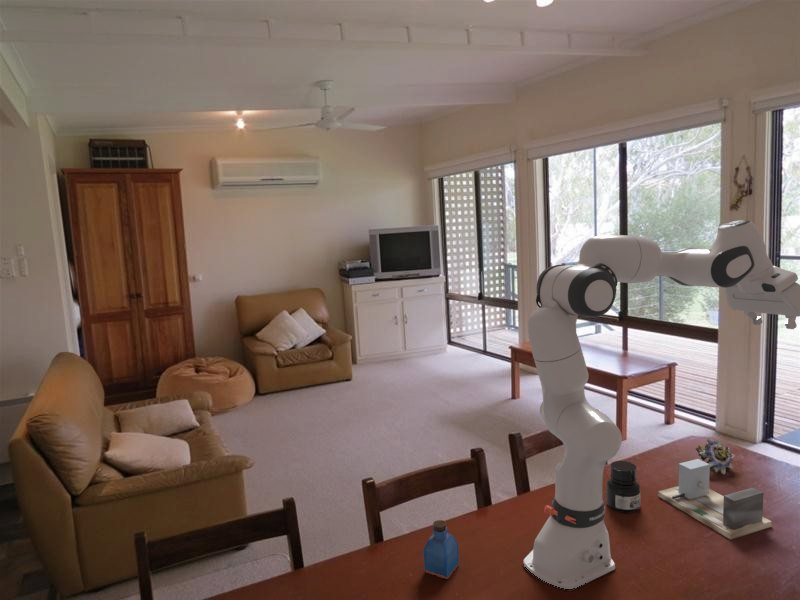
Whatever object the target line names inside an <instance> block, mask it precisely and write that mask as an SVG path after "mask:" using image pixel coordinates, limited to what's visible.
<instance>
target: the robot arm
mask: <svg viewBox="0 0 800 600" xmlns="http://www.w3.org/2000/svg"><path fill="white" fill-rule="evenodd" d="M579 251H580V252H579V256H578V257H579V258H578V261H577V263H576V264H575V265H568V264H567V265H566V264H555V265H552V266H549V267H546V268H545V269H544V270H543V271H542V272H541V273H540V274H539V276H538V279H537V282H536V298H535V303H536V305H537V307H538V308H537V309H535V310H534V311H532V312H531V313H530V315H529V316H528V319H527V332H528V334H527V335H528V339H529V346H530V350H531V354H532V357H533V360H534V364H535V367H536V371H537V375H538V378H539V381H540V386H541V391H542V393H541V394H542V402H541V403H540V406H539V416H540V419H541V420H542V423H543V424H544V426H545V427H546V428H547V430H548V431H549V433H551V434H552V435H553V436H555V437H556V438H557V439H559V440H560V442H562V444H563V447H564V454H563V458H562V460H561V461H560V462H558V463H557V464H556V466H555V468H554V484H555V485H554V488H555V492H554V493H555V494H554V496H553V500H552V503H551V506H550V505H549V504H548V505H545V506H544V511H543V512H544V514H547V515H549V516H548V519H547V520H546V521H545V523H544V525H542V527H541V530H540V531H539V533H538V534H537V536H536V537H535V540H534V542H533V549H532V550H531V551H530V552H529V553H528V554H527V555H526V556H525V558H523V560H522V561H523V562H522V564H524V565H523V567H524V568H525V567H526V568H527V569H528V570H529V571H530V572H531V573H533V574H534V575H535V576H537V577H538V578H537V577H536V578H537V579H539V578H540V579H541V580H540V579H539V580H540V581H542V580H543V581H542V582H544V581H545V582H544V583H546V582H547V583H546V584H548V583H549V584H548V585H550V584H552V585H554V586H553V587H555V586H557V587H556V588H558V587H560V588H559V589H561V588H564V589H563V590H565V589H573V588H575V589H577V587H578V588H579V586H580V587H582V586H584V585H586V584H588V583H590V582H592V581H594V580H596V579H597V578H600V577H602V576H604V575H607V574H609V573H610V572H612V571H615V569H616V564H615V562H614V560H613V559H612V556H611V545H610V543H611V542H610V535H609V534H610V533H609V531H608V528H607V527H606V524H605V521H604V519H605V512H606V506H605V501H604V499H603V491H604V490H603V488H604V487H603V485H604V484H603V483H604V482H603V481H604V470H605V468H606V464H607V462H608V461H609V460H611V459H613V458H614V457H615V456H616V455H617V454H618V452H619V451H620V449H621V446H622V444H623V442H622V441H623V437H622V436H623V435H622V432H621V430H620V429H619V427H618V426H617V425H616V423H615V422H614V421H613V420H612V419H611V418H610V417H609V416H608V415H607V414H606V413H604V412H603V411H600V410H599V409H597V408H595V407H593V406H592V405H591V404H590V403H589V401H588V399H587V397H586V395H585V393H586V392H585V385H586V384H587V382H588V380H589V377H590V375H589V372H588V368H587V363H586V360H585V356H584V353H583V350H582V345H581V343H580V339H579V337H578V334H577V320H578V316H579V317H583V318H597V317H600V316H603V315H606V314H607V313H608V312H609V311H610V310H611V308H612V307H613V305H614V303H615V300H616V296H617V286H618V283H624V284H625V283H627V284H634V283H635V284H639V283H647V282H651V281H652V280H654V279H656V277H657V276H658V277H665V278H668V279H670V280H672V281H674V283H677V284H679V285H681V286H684V287H689V286H690V287H692V286H693V287H695V286H696V287H697V286H698V287H707V288H724V293H725V298H726V301H727V304H728V307H729V308H730V309H732V311H739V312H743V313H744V315H745V316H746V317H747V318H748V319H750V320H751V323H752V325H755V326H760V325H761V324H762V323H763V320H762V317H761V316H758V314H759V313H760V314H769V315H779V316H784V317H785V319H787V321H786V322H784V326H785V328H786V329H787V330H794V329H796V328H797V323H796V321H797V320H796V319H797V317H798V318H799V317H800V284H799V283H798V282H797V281H798V279H799V277H798V274H797V273H796V272H794V271H790V270H787V269H784V268H781V267H778V266H776V265H773V262H772V260H771V258H770V257H769V256H768V254H767V246H766V244H765V241H764V239H763V237H762V234H761V233H760V230H759V229H758V226H756V225H755V223H754V222H753V221H752V220H748V219H738V220H734V221H728V222H725V223H723V224H721V225H720V226H718V227H717V236H716V238H715V239H714V241H713V244H712V245H711V246H709V247H708V248H700V247H683V248H681V249H678V250H676V251H673V252H668V251H662V249H661V247H660V246H659V244H658V243H657V242H656V241H653V240H651V239H647V238H645V237H641V236H635V235H626V234H625V235H623V234H607V235H597V236H593V237H590V238H588V239H587V240H586V241H584V243H583V245H582V246H581V248H580V250H579ZM526 568H525V569H526ZM527 569H526V570H527ZM528 570H527V571H528ZM529 571H528V572H529ZM530 572H529V573H530ZM531 573H530V574H531ZM533 574H532V575H533ZM534 575H533V576H534ZM535 576H534V577H535ZM585 583H586V584H585ZM552 585H551V586H552ZM581 585H582V586H581ZM573 590H574V589H573Z"/></svg>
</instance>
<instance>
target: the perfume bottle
mask: <svg viewBox="0 0 800 600" xmlns="http://www.w3.org/2000/svg"><path fill="white" fill-rule="evenodd" d="M432 526H433V527H432V535H431V536H429V538H428V541H426V543H425V545H424V547H423V551H422V552H423V563H424V564H423V566H424V571H425V570H428V571H430V572H434V573H436V574H440V575H443V576H445V577H448V576H449V575H450V573H451V572H452V571H453V569H454V568H455V567H456V566H457V565H458V563H459V564H460V555H459V542H458V541H457V539H456V537H454V536H453V534H451V533H448V527H447V522H446V521H445V520H442V519H439V520H435V521H433V524H432Z"/></svg>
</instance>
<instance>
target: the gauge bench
mask: <svg viewBox="0 0 800 600" xmlns="http://www.w3.org/2000/svg"><path fill="white" fill-rule="evenodd" d="M678 489H679V485H678V486H673V487H670V488H669V487H668V488H666V489H665V488H664V489H661V490H658V491H657V497H658V498H660V499H662V500H664V501H665V502H666V503H669V504H670V505H672V506H674V507H675V508H677V509H679V510H680V511H682V512H683V513H685V514H687V515H689V516H690V517H692V518H694V519H695V520H696V521H699V522H700V523H702V524H704V525H706V526H707V527H709V528H710V529H712V530H714V531H715V532H717V533H719V534H720V535H722V536H724V537H725V538H727V539H728V540H733V539H734V540H735V539H737V538H740V537H743V536H746V535H750V534H753V533H757V532H759V531H762V530H765V529H768V528H771V527H772V520H770V519H768V518H766V517H764V516H763V514H764V513H763V510H764V491H761V490H759V489H757V488H755V487H750V488H746V489H743V490H739V491H735V492H732V493H731V492H730V493H728V494H725V495H722V494H720V493H718V492H716V491H714V490H713V489H711V488H709V494H708V495H704V496H701V497H697V498H693V499H688V498H686V497H684V496H683V497H679V498H676V499H673V498H672V496H675V495H679V493H678Z"/></svg>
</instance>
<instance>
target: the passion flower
mask: <svg viewBox="0 0 800 600" xmlns="http://www.w3.org/2000/svg"><path fill="white" fill-rule="evenodd" d="M706 441H707V443H705V444H704V446H703V445H698V447H696V448H695V451H696V452H697V453H698V457H700V460H702V461H704V462H705V460H706V459H708V460H707V461H706V463H708V464H710V468H711V469H712V471H713V472H714V473H715V474H718V472H719V473H720V474H721V475H722V474H723V475H724V476H725V474H726V473H727V472H726V470H727V468H728V469H730V470H733V469H734V468H733V462H734V460H733V459H734V458H735V456H736V455H735V454H734V453H732V452H731V451H730V447H728V446H725V445H724V444H723V443H721V439H719V440H717V441H716V440H714V441H713V440H712V439H711V438H710V437H706ZM702 448H703V449H702Z"/></svg>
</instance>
